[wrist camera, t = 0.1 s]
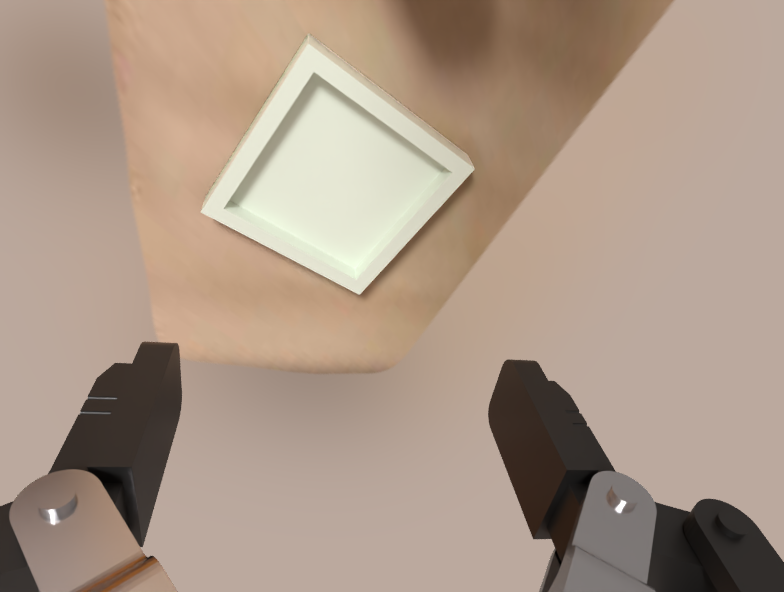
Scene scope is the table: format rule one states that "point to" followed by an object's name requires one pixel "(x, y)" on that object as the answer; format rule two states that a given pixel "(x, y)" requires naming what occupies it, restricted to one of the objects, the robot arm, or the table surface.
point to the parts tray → (335, 171)
